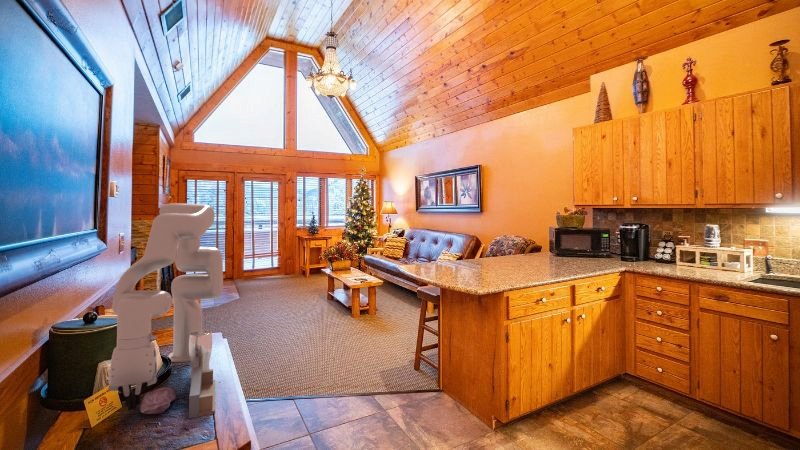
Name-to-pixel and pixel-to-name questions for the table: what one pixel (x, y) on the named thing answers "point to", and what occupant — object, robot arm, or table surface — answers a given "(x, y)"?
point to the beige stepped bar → (202, 393)
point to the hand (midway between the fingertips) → (132, 407)
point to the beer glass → (200, 349)
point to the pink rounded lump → (157, 400)
